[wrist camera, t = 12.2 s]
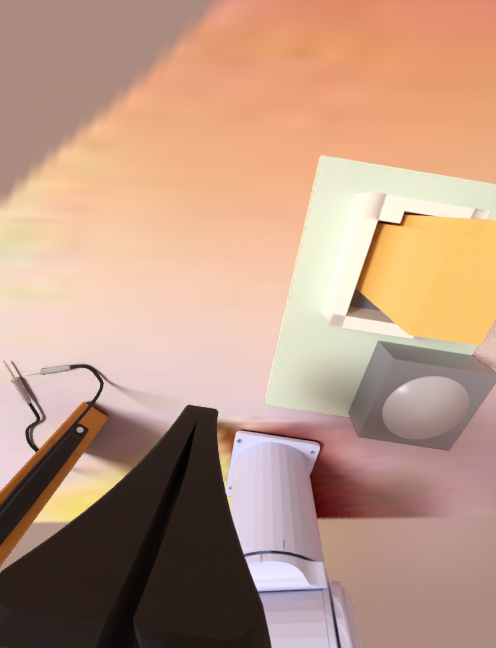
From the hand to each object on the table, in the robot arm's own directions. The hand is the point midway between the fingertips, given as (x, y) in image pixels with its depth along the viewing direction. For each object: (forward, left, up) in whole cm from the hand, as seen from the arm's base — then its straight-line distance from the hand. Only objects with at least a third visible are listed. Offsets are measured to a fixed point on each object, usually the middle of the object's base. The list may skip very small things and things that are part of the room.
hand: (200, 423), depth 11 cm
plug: (+7, -10, -8) cm, 15 cm away
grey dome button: (-2, -15, -9) cm, 17 cm away
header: (+7, -10, -9) cm, 15 cm away
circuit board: (+3, -11, -9) cm, 15 cm away
